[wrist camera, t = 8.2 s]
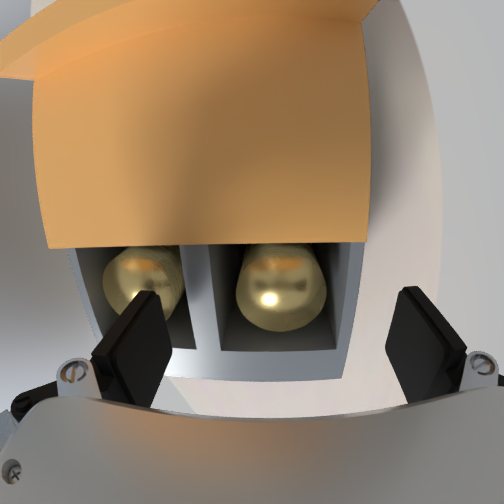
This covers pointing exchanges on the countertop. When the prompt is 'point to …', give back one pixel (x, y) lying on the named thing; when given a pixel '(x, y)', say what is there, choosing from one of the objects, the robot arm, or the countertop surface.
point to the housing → (237, 316)
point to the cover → (198, 120)
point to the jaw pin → (280, 285)
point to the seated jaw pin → (145, 276)
